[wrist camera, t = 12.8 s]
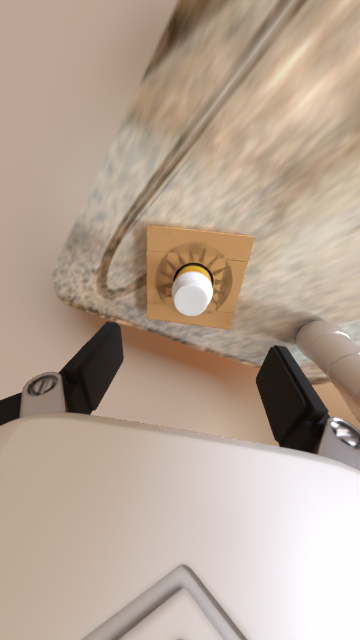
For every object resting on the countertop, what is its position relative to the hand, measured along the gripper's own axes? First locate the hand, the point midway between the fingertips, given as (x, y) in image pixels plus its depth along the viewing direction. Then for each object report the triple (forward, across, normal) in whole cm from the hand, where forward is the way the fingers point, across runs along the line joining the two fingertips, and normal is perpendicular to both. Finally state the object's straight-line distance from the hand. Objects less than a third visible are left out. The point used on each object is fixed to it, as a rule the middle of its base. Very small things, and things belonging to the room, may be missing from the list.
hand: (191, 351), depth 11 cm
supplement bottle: (+19, 0, +1) cm, 19 cm away
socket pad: (+19, 0, +1) cm, 19 cm away
